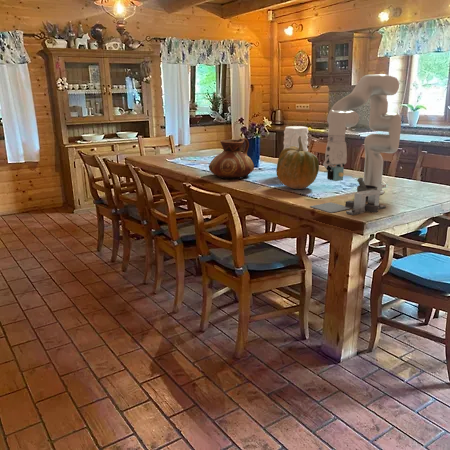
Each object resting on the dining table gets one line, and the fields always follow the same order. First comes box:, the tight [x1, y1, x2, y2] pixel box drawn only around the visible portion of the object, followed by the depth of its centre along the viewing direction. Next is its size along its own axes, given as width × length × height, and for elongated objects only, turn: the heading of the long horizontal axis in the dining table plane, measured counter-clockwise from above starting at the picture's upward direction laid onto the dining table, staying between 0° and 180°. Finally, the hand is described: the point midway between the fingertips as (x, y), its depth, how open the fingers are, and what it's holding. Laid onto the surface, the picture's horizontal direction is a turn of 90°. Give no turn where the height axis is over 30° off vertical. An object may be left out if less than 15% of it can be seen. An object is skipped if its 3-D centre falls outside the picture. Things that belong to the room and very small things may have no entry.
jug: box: [208, 137, 255, 180], centre depth 291 cm, size 30×30×25 cm
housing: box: [345, 189, 386, 216], centre depth 205 cm, size 22×4×9 cm, turn 123°
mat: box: [309, 202, 353, 214], centre depth 212 cm, size 14×14×1 cm
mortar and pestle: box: [356, 177, 377, 202], centre depth 224 cm, size 11×9×12 cm
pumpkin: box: [275, 136, 320, 190], centre depth 252 cm, size 23×26×30 cm
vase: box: [282, 125, 310, 152], centre depth 289 cm, size 17×16×32 cm
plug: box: [327, 165, 345, 182], centre depth 205 cm, size 4×6×6 cm
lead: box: [344, 200, 379, 214], centre depth 209 cm, size 3×16×3 cm, turn 41°
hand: (334, 178), depth 207 cm, fingers closed on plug, 4 cm apart
